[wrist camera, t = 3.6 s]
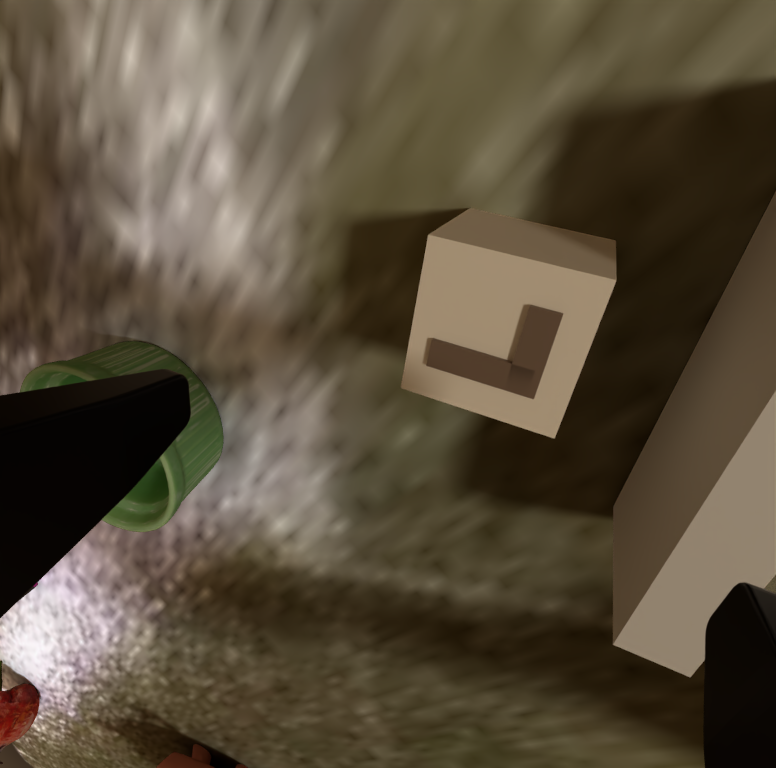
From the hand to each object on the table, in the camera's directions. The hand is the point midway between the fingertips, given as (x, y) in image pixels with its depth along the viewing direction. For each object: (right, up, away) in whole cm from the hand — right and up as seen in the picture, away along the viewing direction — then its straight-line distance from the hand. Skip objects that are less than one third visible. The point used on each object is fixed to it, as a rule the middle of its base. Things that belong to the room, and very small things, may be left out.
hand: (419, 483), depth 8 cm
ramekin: (-12, 0, +19) cm, 22 cm away
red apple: (-42, -33, +50) cm, 73 cm away
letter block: (+4, +5, +9) cm, 11 cm away
